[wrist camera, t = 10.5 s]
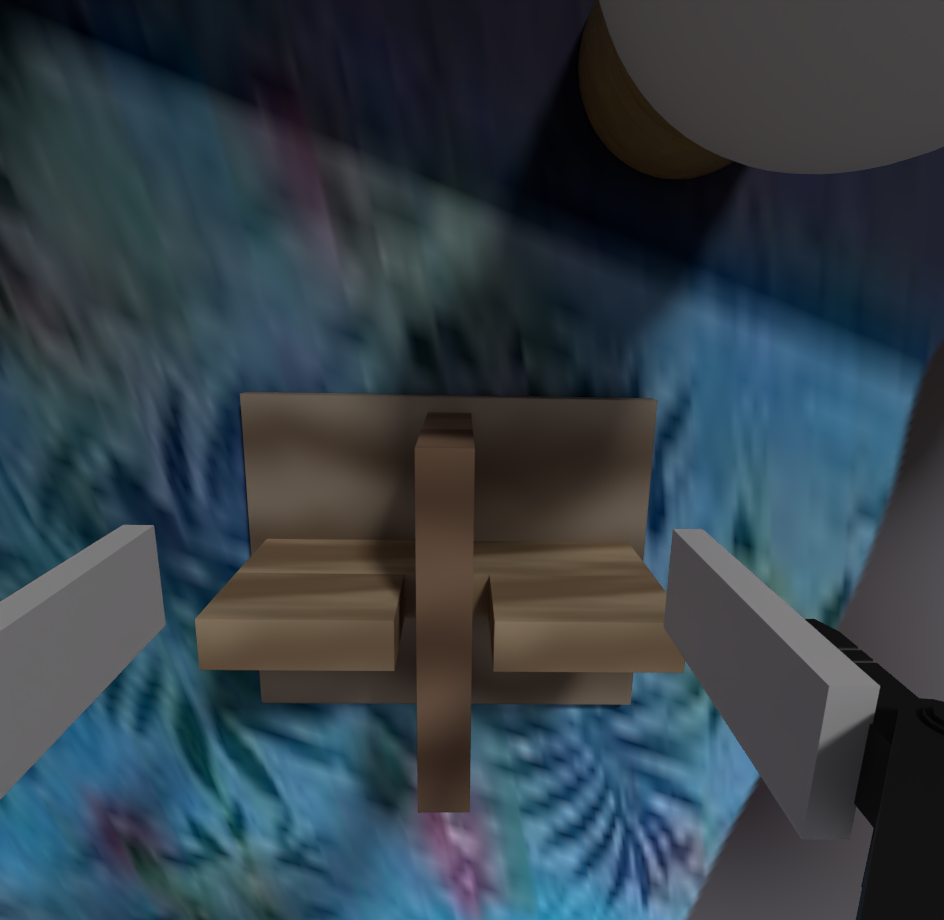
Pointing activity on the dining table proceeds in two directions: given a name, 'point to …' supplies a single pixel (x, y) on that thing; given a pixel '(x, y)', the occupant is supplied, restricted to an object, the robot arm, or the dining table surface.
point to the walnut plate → (444, 609)
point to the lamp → (764, 83)
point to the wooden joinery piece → (394, 550)
